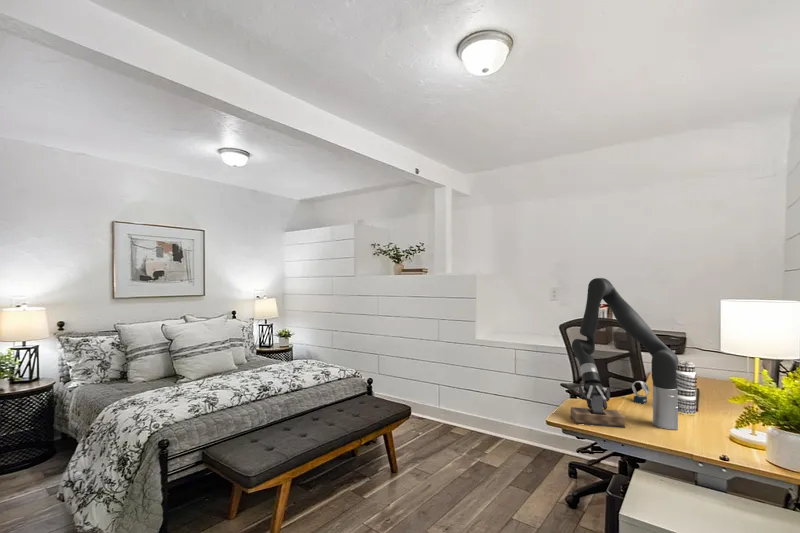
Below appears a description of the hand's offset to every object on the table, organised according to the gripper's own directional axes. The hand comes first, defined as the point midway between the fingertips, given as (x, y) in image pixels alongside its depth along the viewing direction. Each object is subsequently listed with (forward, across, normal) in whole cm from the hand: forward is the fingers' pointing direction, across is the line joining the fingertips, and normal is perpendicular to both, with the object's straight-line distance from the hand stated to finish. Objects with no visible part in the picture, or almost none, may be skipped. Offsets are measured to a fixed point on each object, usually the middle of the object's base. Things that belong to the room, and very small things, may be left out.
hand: (598, 408), depth 179 cm
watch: (-23, +34, +33) cm, 52 cm away
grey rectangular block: (+3, 0, +5) cm, 6 cm away
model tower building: (-13, +48, +23) cm, 55 cm away
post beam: (+4, 0, +6) cm, 7 cm away
